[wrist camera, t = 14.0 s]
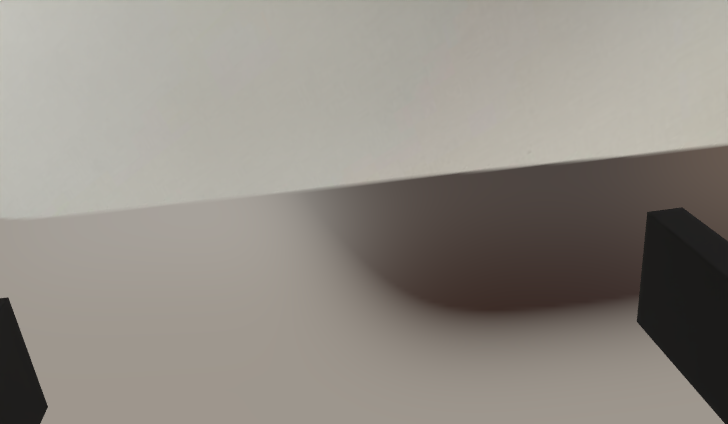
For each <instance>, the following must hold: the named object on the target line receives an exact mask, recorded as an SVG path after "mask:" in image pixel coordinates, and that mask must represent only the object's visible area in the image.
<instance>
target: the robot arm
mask: <svg viewBox="0 0 728 424" xmlns="http://www.w3.org/2000/svg"><path fill="white" fill-rule="evenodd" d="M644 243H645V244H644V254H643V263H642V274H641V284H640V295H639V306H638V316H637V322H638V323H639V325H640V326H641V327H642V328H643V329H644V330H645V332H646V333H647V334H648V335H649V336H650V337H651V338H652V340H653V341H654V342H655V343H656V344H657V345H658V347H659V348H660V349H661V350H662V351H663V352H664V354H666V356H667V357H668V358H669V359H670V361H671V362H672V363H673V364H674V365H675V366H676V367H677V369H678V370H679V371H680V372H681V373H682V374H683V375H684V376H685V378H686V379H687V380H688V381H689V382H690V384H691V385H692V386H693V387H694V388H695V389H696V391H697V392H698V393H699V394H700V395H701V396H702V397H703V399H704V400H705V401H706V402H707V403H708V404H709V406H711V408H712V409H713V410H714V411H715V413H716V414H717V415H718V416H719V417H720V418H721V419H722V421H723V422H724V423H725V424H728V241H727V240H725V239H724V238H722V237H721V236H720V235H719V234H717V233H716V232H714V231H713V230H712V229H710V228H709V227H708V226H706V225H705V224H704V223H702V222H701V221H700V220H698V219H697V218H696V217H694V216H693V215H692V214H690V213H689V212H688V211H686V210H685V209H683V208H675V209H668V210H660V211H652V212H647V222H646V232H645V242H644ZM47 408H48V406H47V403H46V400H45V398H44V395H43V392H42V389H41V387H40V384H39V381H38V378H37V376H36V373H35V370H34V367H33V365H32V362H31V359H30V356H29V353H28V351H27V348H26V345H25V342H24V340H23V337H22V334H21V331H20V329H19V326H18V323H17V320H16V318H15V315H14V312H13V309H12V307H11V304H10V301H9V298H0V424H40V423H41V421H42V419H43V416H44V414H45V412H46V410H47Z"/></svg>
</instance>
